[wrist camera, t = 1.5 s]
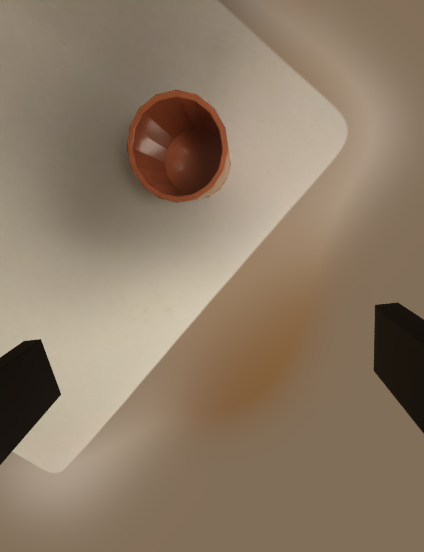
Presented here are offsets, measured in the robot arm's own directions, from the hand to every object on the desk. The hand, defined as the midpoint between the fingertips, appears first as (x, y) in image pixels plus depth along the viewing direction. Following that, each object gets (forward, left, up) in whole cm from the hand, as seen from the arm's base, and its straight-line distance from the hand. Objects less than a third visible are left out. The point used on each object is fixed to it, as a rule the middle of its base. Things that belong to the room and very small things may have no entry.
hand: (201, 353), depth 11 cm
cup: (-2, -9, -22) cm, 24 cm away
